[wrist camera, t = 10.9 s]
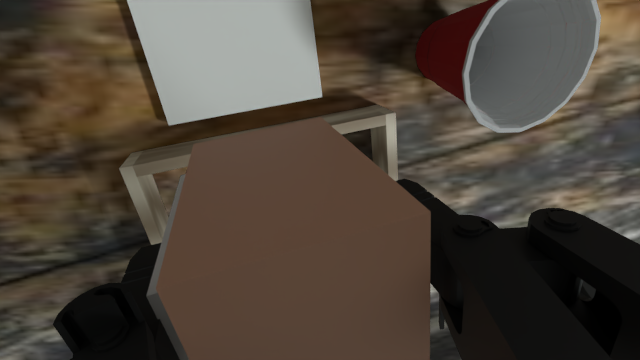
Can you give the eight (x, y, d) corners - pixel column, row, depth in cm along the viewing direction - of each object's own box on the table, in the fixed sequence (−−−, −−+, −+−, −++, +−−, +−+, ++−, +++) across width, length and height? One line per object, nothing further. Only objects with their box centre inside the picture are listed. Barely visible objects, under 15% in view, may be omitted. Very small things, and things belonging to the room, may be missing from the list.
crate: (387, 282, 45) (401, 303, 41) (204, 337, 40) (202, 366, 37) (378, 104, 34) (395, 112, 31) (131, 152, 30) (118, 168, 27)
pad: (319, 95, 32) (322, 97, 32) (170, 122, 30) (168, 125, 29) (304, -24, 28) (307, -26, 27) (128, -3, 26) (125, -5, 25)
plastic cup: (377, 95, 34) (446, 122, 23) (411, -24, 30) (511, -55, 20) (462, 114, 37) (557, 146, 27) (502, 10, 34) (629, -1, 23)
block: (335, 220, 16) (429, 378, 8) (228, 250, 15) (233, 452, 8) (320, 116, 13) (430, 211, 6) (193, 144, 12) (155, 289, 5)
